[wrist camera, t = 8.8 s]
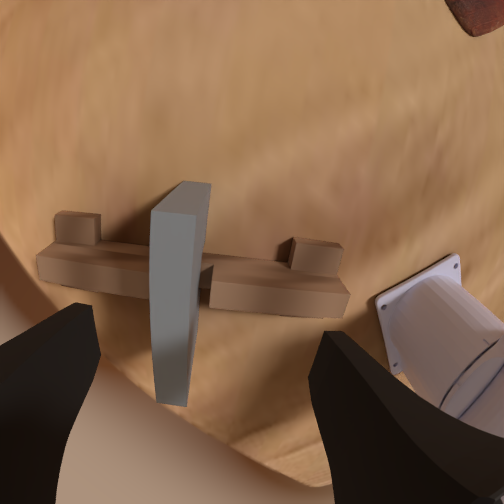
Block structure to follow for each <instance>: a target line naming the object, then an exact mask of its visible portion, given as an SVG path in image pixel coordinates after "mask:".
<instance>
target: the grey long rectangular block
mask: <svg viewBox="0 0 504 504" xmlns="http://www.w3.org/2000/svg"><path fill="white" fill-rule="evenodd" d="M210 191H211V184H208V183H199V182H190V181H183V182H182V183H181V184H179V185H178V186H177V187H176V188H175V189H174V190H173V191H172V192H171V193H169V194H168V195H167V196H166V197H165V198H164V199H163V200H162V201H161V202H160V203H159V204H158V205H157V206H155V207H154V208H153V209H152V210H151V224H150V259H149V291H150V326H151V345H152V360H153V372H154V383H155V393H156V402H157V403H163V404H169V405H176V406H183V407H187V401H188V393H189V385H190V378H191V371H192V364H193V357H194V350H195V343H196V336H197V330H198V316H199V302H200V289H201V288H199V281H200V269H201V258H202V251H203V247H204V243H205V235H206V225H207V216H208V207H209V199H210Z"/></svg>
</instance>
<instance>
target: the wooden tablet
mask: <svg viewBox="0 0 504 504" xmlns="http://www.w3.org/2000/svg"><path fill="white" fill-rule="evenodd" d="M445 1H446V3H447V5H448V6H449V8H450V9H451V11H452V12H453V14H454V15H455V17H456V19H457V20H458V22H459V23H460V24H461V26H462V27H463V29H464V30H466V31H467V32H468V33H469V34H470V35H472V36H477V37H478V36H481V35H483V34H486V33H489V32H492V31H494V30H495V29H497V28H499V27H501V26H503V25H504V0H445Z"/></svg>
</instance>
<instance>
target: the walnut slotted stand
mask: <svg viewBox="0 0 504 504" xmlns="http://www.w3.org/2000/svg"><path fill="white" fill-rule="evenodd" d="M55 229H56V241H55V242H53V243H52V244H50V245H49V246H48V247H46V248H45V249H44V250H42V251H41V252H40V253H38V254H37V255H36V258H37V265H38V272H39V278H40V280H43V281H47V282H52V283H57V284H61V285H62V286H67V287H72V288H77V289H82V290H87V291H93V292H105V293H110V294H116V295H122V296H129V297H135V298H141V299H148V300H150V291H149V259H150V246H145V245H137V244H129V243H121V242H113V241H105V240H101V214H93V213H82V212H72V211H61V212H59V213H57V214H55ZM343 250H344V249H343V248H342V247H341V246H340V244H339V243H333V242H326V241H318V240H311V239H304V238H297V237H293V241H292V245H291V250H290V255H289V259H288V263H286V262H278V261H269V260H261V259H252V258H244V257H235V256H227V255H219V254H210V253H202V258H201V269H200V281H199V288H206V289H211V293H210V303H209V308H217V309H226V310H236V311H246V312H256V313H268V314H280V316H292V317H306V318H322V319H323V318H343V315H344V312H345V309H346V306H347V304H348V301H349V298H350V295H351V294H350V293H349V291H348V290H347V289H346V287H345V286H344V284H343V283H342V281H341V280H340V278H339V277H338V276H337V272H338V268H339V265H340V261H341V258H342V254H343Z"/></svg>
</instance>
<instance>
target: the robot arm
mask: <svg viewBox="0 0 504 504" xmlns="http://www.w3.org/2000/svg"><path fill="white" fill-rule="evenodd" d="M454 265H455V266H454ZM384 304H385V305H384ZM375 305H376V309H377V313H378V317H379V321H380V325H381V329H382V334H383V338H384V342H385V347H386V352H387V356H388V361H389V366H390V371H391V373H392V374H393V375H395V374H398V373H400V372H402V371H403V372H404V374H405V376H406V377H407V379H408V381H409V382H410V384H411V385H412V387H413V389H414V390H415V392H416V393H415V392H413V391H412V390H411V389H409V388H408V387H407V386H406V385H404V384H403V383H402V382H400V381H399V380H398V379H397V378H395V377H394V376H393V375H392V374H391V373H390V372H388V371H387V370H386V369H385V368H384V367H383V366H381V365H380V364H379V363H378V362H377V361H376V360H375V359H373V358H372V357H371V356H370V355H369V354H368V353H367V352H366V351H365V350H363V349H362V348H361V347H360V346H359V345H358V344H357V343H356V342H355V341H353V340H352V339H351V338H350V337H349V336H347V335H346V334H345V333H344V332H342V331H324V334H323V336H322V339H321V342H320V345H319V348H318V351H317V354H316V357H315V359H314V362H313V365H312V368H311V370H310V373H309V376H308V380H309V388H310V395H311V401H312V406H313V410H314V413H315V417H316V420H317V424H318V427H319V430H320V434H321V437H322V441H323V444H324V448H325V451H326V454H327V458H328V462H329V466H330V471H331V477H332V484H333V490H334V498H335V499H334V500H335V504H504V323H503V322H502V321H501V320H500V319H498V318H497V317H496V316H495V315H494V314H493V313H492V312H491V311H490V310H488V309H487V308H486V307H485V306H484V305H483V304H482V303H480V302H479V301H478V300H477V299H476V298H475V297H473V296H472V295H471V294H470V293H469V292H468V291H466V290H465V289H464V288H463V287H462V286H461V271H460V258H459V255H457V254H456V253H453V254H451V255H450V256H448V257H446V258H445V259H443V260H441V261H440V262H438V263H436V264H435V265H433V266H431V267H429V268H428V269H426V270H424V271H422V272H421V273H419V274H417V275H415V276H414V277H412V278H410V279H408V280H406V281H405V282H403V283H401V284H399V285H397V286H395V287H393V288H392V289H390V290H388V291H386V292H384V293H382V294H380V295H379V296H377V297H376V299H375ZM382 305H384V306H383V307H382ZM381 307H382V308H381ZM100 356H101V353H100V348H99V343H98V338H97V333H96V327H95V322H94V316H93V309H92V305H86V304H81V303H73V304H71V305H69V306H67V307H66V308H64V309H62V310H60V311H58V312H57V313H55V314H54V315H52V316H50V317H48V318H47V319H46V320H43V321H42V322H40V323H39V324H37V325H35V326H34V327H32V328H30V329H28V330H27V331H25V332H24V333H22V334H20V335H18V336H16V337H14V338H13V339H11V340H9V341H7V342H6V343H4V344H2V345H1V346H0V504H55V502H56V491H57V484H58V478H59V473H60V467H61V463H62V458H63V454H64V450H65V446H66V443H67V439H68V437H69V434H70V431H71V429H72V427H73V424H74V422H75V420H76V417H77V415H78V413H79V410H80V408H81V406H82V404H83V402H84V399H85V397H86V395H87V393H88V390H89V388H90V386H91V384H92V382H93V379H94V376H95V373H96V370H97V366H98V363H99V360H100Z"/></svg>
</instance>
